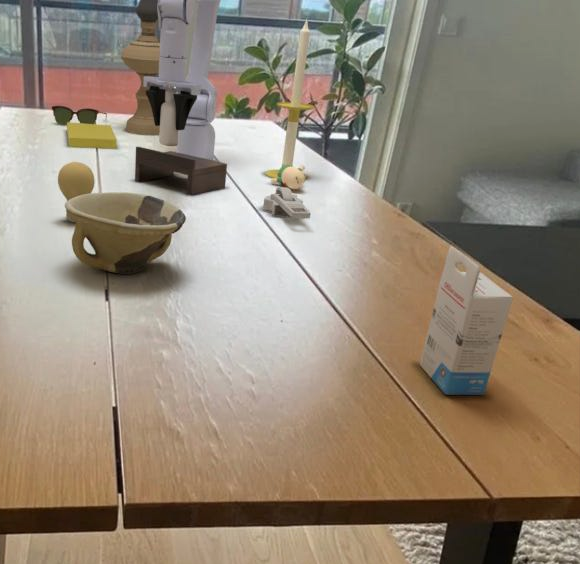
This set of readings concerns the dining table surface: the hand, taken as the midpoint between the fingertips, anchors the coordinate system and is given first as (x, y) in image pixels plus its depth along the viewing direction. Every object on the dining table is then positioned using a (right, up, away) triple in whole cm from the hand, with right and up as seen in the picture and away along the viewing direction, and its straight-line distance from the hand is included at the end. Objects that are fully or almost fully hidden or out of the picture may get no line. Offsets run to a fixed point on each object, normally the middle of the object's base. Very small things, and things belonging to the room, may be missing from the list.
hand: (169, 127), depth 168 cm
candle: (+28, -5, +16) cm, 32 cm away
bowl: (-7, -45, -50) cm, 67 cm away
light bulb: (-17, -30, -29) cm, 45 cm away
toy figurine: (+27, -11, +5) cm, 29 cm away
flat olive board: (-22, +15, +40) cm, 48 cm away
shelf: (+2, -12, +1) cm, 12 cm away
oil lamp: (-8, +24, +56) cm, 61 cm away
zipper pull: (+23, -26, -18) cm, 39 cm away
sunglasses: (-27, +30, +62) cm, 74 cm away
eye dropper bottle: (0, -3, +2) cm, 4 cm away
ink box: (+34, -66, -77) cm, 107 cm away
